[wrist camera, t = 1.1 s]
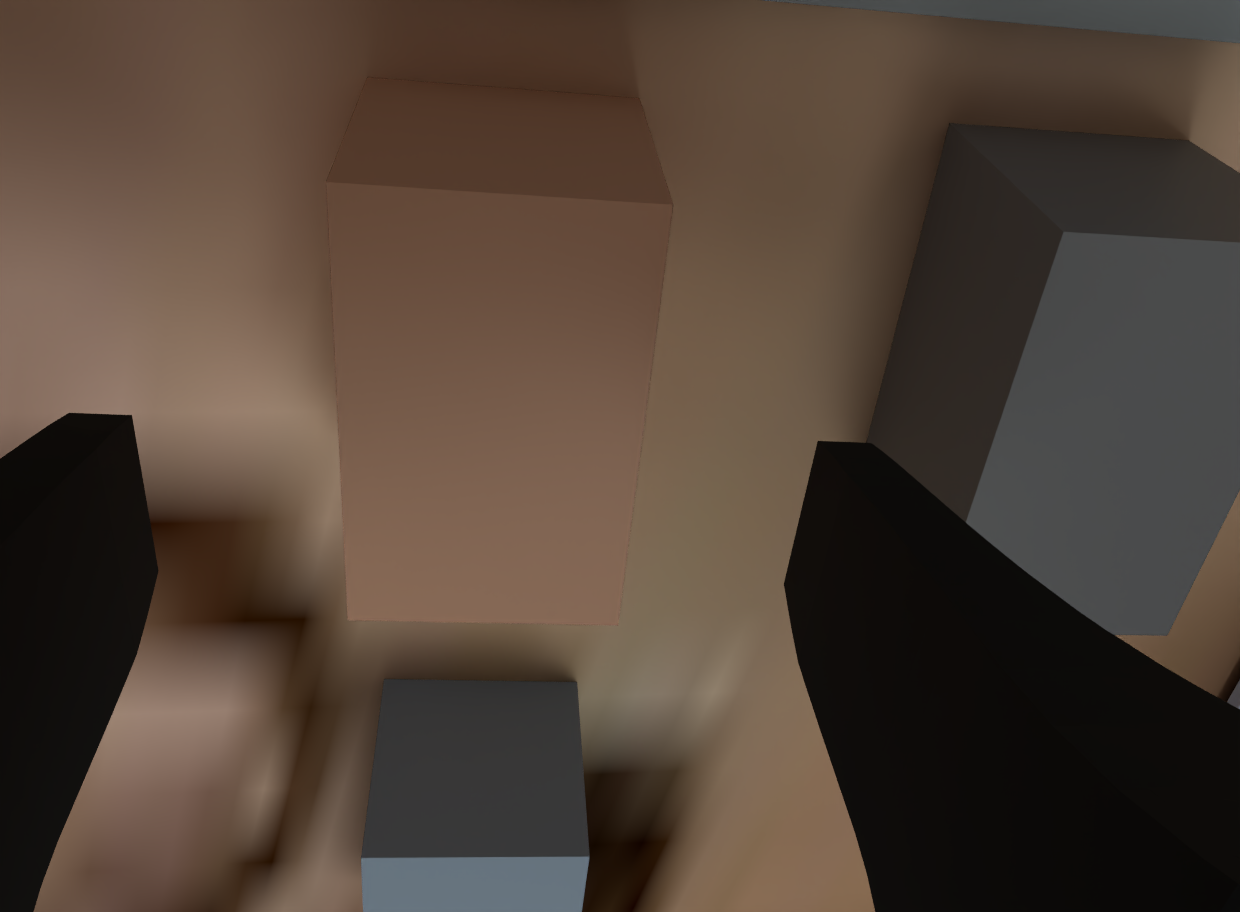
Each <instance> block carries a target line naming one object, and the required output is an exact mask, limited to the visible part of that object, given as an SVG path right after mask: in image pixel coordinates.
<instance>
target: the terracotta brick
mask: <svg viewBox="0 0 1240 912" xmlns="http://www.w3.org/2000/svg"><path fill="white" fill-rule="evenodd" d="M326 190H327V211H328V231H329V251H330V271H331V291H332V312H333V332H334V352H335V372H336V392H337V412H338V433H339V453H340V473H341V493H342V513H343V534H344V554H345V574H346V594H347V614H348V620H358V621H410V622H461V623H512V624H564V625H615V626H618V623H619V616H620V608H621V600H622V593H623V585H624V577H625V570H626V562H627V555H628V547H629V539H630V532H631V524H632V516H633V509H634V501H635V494H636V486H637V478H638V471H639V463H640V455H641V448H642V440H643V433H644V425H645V417H646V410H647V402H648V394H649V387H650V379H651V372H652V364H653V356H654V349H655V341H656V333H657V326H658V318H659V311H660V303H661V295H662V288H663V280H664V273H665V265H666V257H667V250H668V242H669V234H670V227H671V219H672V212H673V202H672V199H671V196H670V193H669V190H668V187H667V184H666V180H665V177H664V174H663V171H662V168H661V165H660V162H659V159H658V155H657V152H656V149H655V146H654V143H653V140H652V137H651V134H650V130H649V127H648V124H647V121H646V118H645V115H644V112H643V109H642V105H641V102H640V99H639V98H629V97H616V96H603V95H591V94H578V93H565V92H552V91H539V90H526V89H513V88H500V87H487V86H474V85H461V84H448V83H435V82H422V81H409V80H396V79H383V78H370V77H367V80H366V82H365V85H364V87H363V90H362V92H361V95H360V98H359V100H358V103H357V105H356V108H355V110H354V113H353V115H352V118H351V120H350V123H349V125H348V128H347V130H346V133H345V135H344V138H343V141H342V143H341V146H340V148H339V151H338V153H337V156H336V158H335V161H334V163H333V166H332V168H331V171H330V173H329V176H328V178H327V181H326Z"/></svg>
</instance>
